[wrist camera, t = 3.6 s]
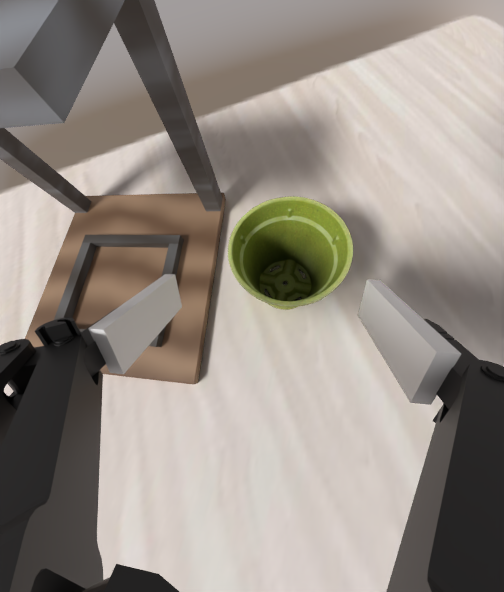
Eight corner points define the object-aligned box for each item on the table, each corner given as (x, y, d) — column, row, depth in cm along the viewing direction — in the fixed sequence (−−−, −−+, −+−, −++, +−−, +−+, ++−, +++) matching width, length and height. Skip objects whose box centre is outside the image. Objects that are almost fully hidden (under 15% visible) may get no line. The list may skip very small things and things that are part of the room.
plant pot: (272, 341, 22) (269, 331, 14) (230, 274, 25) (207, 233, 16) (343, 296, 22) (382, 260, 14) (294, 236, 25) (302, 177, 17)
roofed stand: (198, 382, 21) (-304, 544, 3) (27, 363, 24) (-745, 381, 6) (225, 199, 28) (127, -103, 10) (89, 202, 31) (-184, -24, 13)
